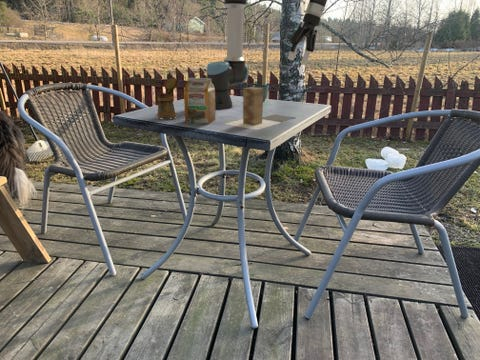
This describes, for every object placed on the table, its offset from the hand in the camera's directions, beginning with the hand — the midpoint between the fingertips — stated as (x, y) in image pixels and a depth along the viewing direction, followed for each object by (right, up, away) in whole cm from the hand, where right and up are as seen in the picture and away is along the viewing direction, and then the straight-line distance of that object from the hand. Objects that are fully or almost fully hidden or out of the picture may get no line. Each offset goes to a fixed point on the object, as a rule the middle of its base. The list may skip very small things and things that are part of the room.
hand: (296, 62), depth 174 cm
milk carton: (-44, -29, -8) cm, 54 cm away
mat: (-9, -26, 0) cm, 28 cm away
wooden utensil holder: (-60, -26, +2) cm, 66 cm away
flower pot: (-14, -8, +49) cm, 52 cm away
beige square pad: (-21, -30, -11) cm, 39 cm away
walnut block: (-21, -30, -11) cm, 38 cm away
